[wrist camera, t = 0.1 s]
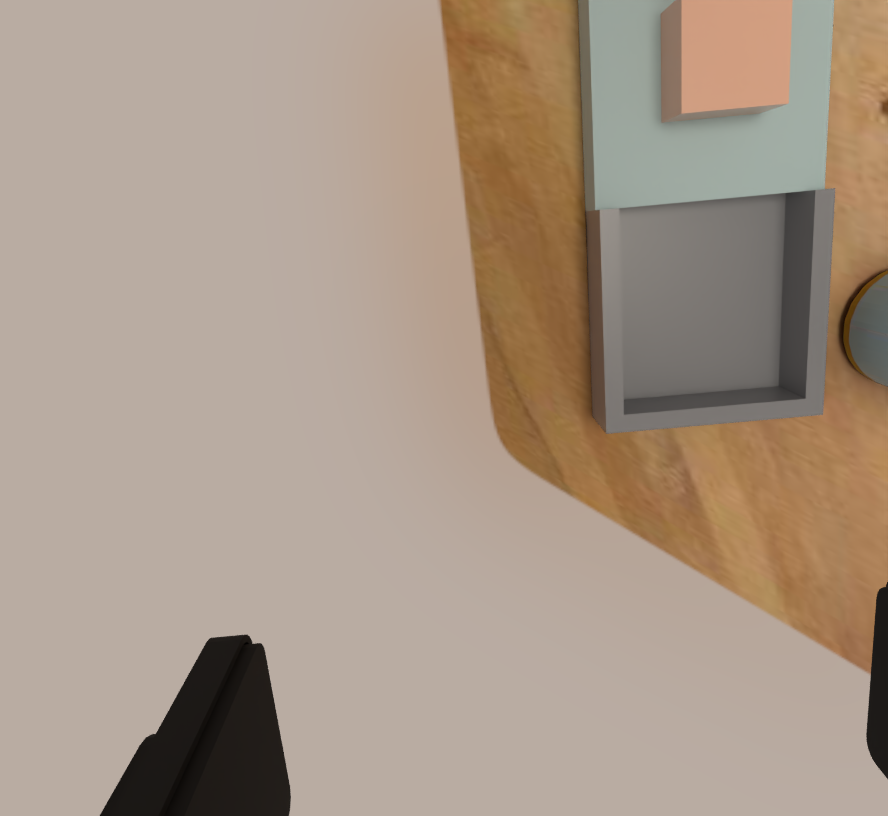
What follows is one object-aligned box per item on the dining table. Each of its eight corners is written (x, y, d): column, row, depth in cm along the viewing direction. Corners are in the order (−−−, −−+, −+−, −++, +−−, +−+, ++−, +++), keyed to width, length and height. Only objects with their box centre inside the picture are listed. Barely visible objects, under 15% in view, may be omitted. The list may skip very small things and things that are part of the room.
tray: (585, 211, 39) (599, 210, 35) (800, 191, 39) (835, 188, 35) (592, 416, 42) (606, 433, 38) (791, 399, 42) (823, 414, 38)
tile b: (660, 13, 34) (681, -6, 31) (762, 4, 34) (793, -17, 31) (661, 122, 35) (681, 113, 32) (759, 113, 35) (788, 103, 32)
